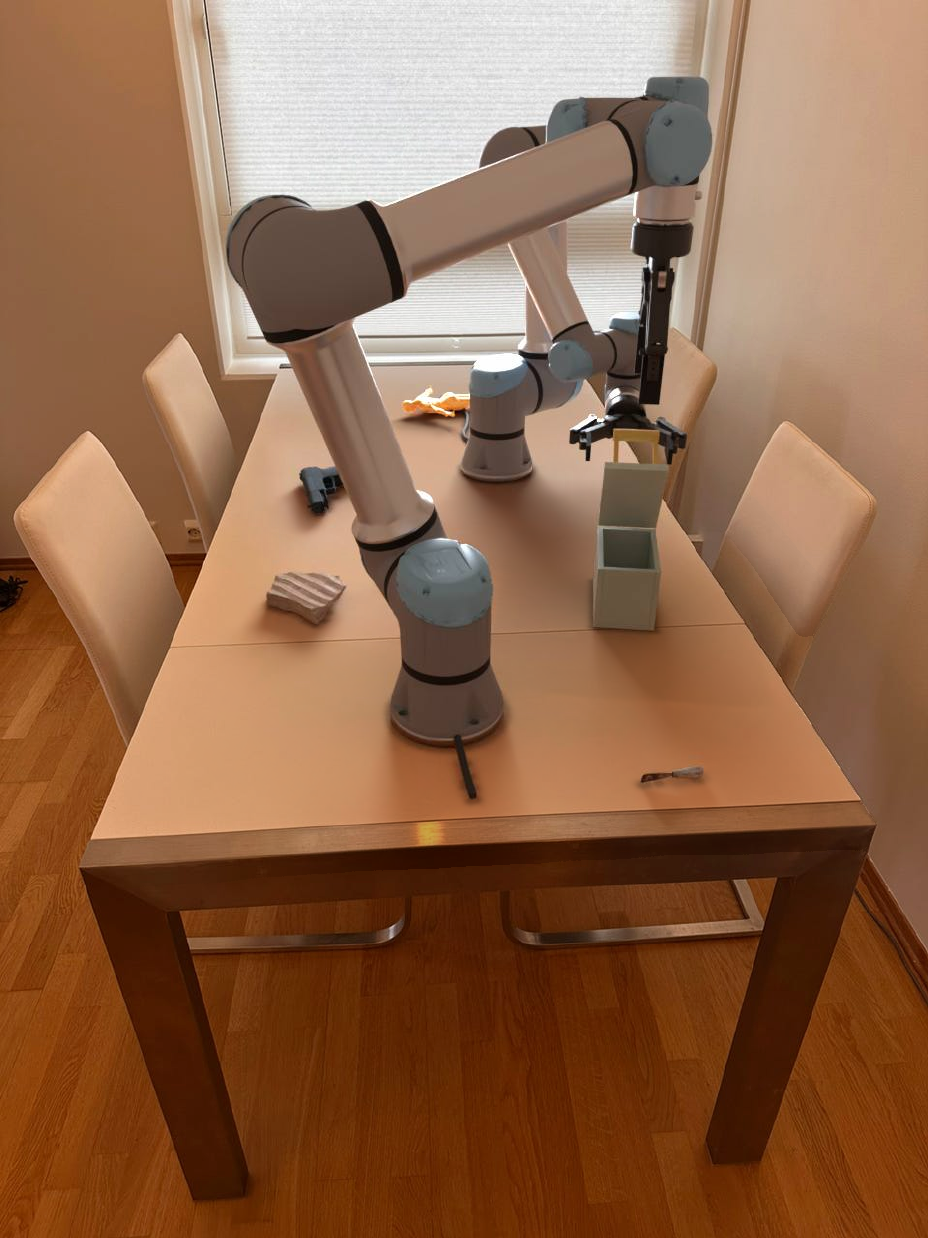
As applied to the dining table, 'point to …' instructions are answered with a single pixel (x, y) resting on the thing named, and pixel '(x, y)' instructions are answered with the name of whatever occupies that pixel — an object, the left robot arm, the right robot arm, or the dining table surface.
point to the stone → (305, 593)
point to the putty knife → (674, 774)
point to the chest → (626, 578)
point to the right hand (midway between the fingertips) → (629, 455)
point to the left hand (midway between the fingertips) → (646, 387)
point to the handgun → (319, 486)
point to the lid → (632, 485)
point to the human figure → (438, 403)
